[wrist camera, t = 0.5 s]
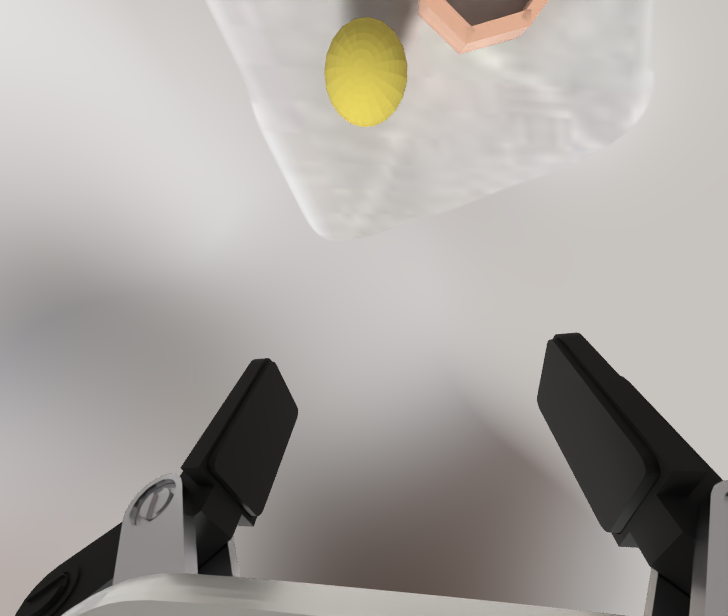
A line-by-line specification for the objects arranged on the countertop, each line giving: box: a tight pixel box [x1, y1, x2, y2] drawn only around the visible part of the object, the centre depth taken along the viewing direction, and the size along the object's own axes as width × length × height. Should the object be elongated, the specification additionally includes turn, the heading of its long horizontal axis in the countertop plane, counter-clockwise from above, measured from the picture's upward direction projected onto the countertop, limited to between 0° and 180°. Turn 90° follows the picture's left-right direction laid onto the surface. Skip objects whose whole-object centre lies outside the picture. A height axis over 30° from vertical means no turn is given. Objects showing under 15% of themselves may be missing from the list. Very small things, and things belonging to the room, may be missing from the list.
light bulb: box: [325, 17, 407, 127], centre depth 23 cm, size 7×7×10 cm
